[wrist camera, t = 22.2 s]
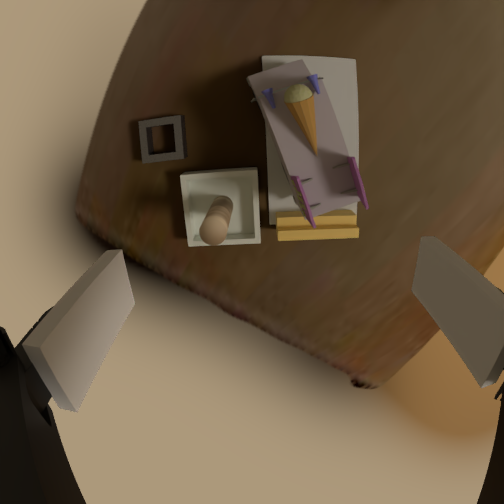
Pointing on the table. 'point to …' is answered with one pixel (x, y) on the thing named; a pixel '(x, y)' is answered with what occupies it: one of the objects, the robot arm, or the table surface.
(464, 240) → the table surface
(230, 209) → the pin
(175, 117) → the socket
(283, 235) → the block
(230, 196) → the tray
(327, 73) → the mat
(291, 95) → the toy vehicle
